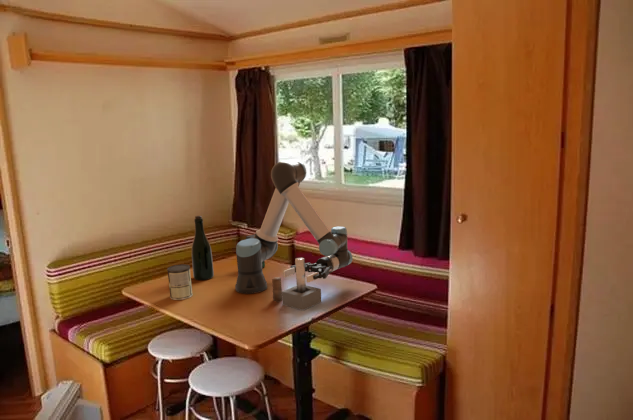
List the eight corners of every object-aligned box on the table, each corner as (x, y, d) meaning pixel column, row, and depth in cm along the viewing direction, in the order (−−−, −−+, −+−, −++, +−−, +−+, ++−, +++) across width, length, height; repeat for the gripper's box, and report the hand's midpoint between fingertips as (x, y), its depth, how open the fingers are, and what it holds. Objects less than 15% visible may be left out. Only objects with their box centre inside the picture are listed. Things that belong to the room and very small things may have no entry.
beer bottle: (204, 273, 269) (199, 213, 263) (218, 276, 263) (213, 214, 257) (189, 279, 261) (183, 217, 255) (202, 281, 255) (197, 218, 249)
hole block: (282, 304, 217) (281, 291, 216) (301, 296, 226) (300, 284, 225) (303, 310, 209) (302, 296, 208) (321, 301, 218) (320, 288, 217)
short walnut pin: (271, 300, 223) (270, 279, 221) (277, 297, 226) (276, 276, 224) (277, 302, 221) (276, 280, 219) (284, 299, 224) (282, 278, 222)
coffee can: (166, 297, 235) (163, 268, 232) (185, 291, 242) (182, 263, 239) (177, 301, 227) (174, 272, 225) (196, 295, 234) (194, 266, 232)
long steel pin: (295, 303, 218) (293, 259, 214) (301, 301, 221) (299, 257, 217) (302, 305, 215) (300, 260, 212) (308, 302, 218) (306, 258, 215)
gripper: (349, 277, 221) (317, 290, 206) (307, 268, 238) (275, 280, 222) (348, 260, 220) (317, 272, 204) (306, 253, 236) (274, 263, 221)
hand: (295, 276), depth 213 cm, fingers open, 13 cm apart
